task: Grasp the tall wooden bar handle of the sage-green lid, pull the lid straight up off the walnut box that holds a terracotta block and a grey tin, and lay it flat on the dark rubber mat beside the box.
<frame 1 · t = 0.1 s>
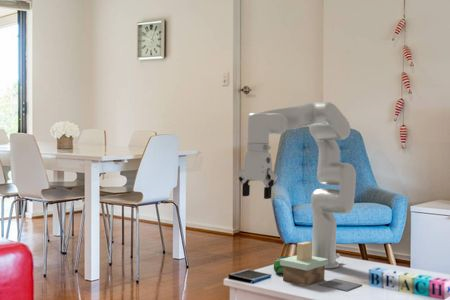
hand: (256, 197, 200), 31 cm above the table, fingers open, 9 cm apart
mat: (340, 285, 204), on the table
lid: (304, 261, 210), point 7 cm above the table, touching box
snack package: (284, 272, 223), on the table
box: (303, 280, 210), on the table
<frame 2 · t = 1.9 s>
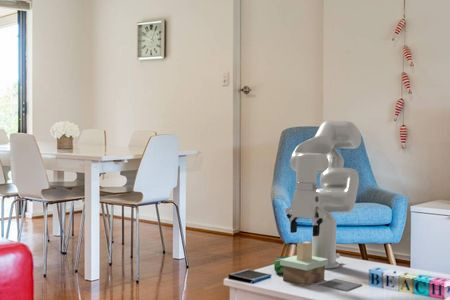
hand: (304, 234, 209), 17 cm above the table, fingers open, 9 cm apart
nothing on the table moved.
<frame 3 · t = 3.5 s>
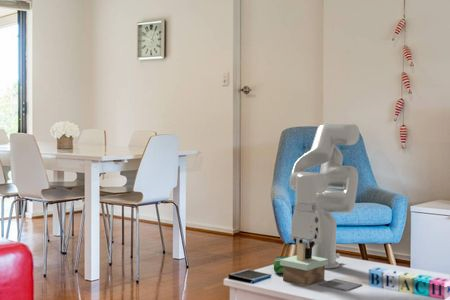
hand: (304, 257, 210), 8 cm above the table, fingers closed on lid, 2 cm apart
lid: (304, 261, 210), point 7 cm above the table, touching box, gripper
everything else where it was.
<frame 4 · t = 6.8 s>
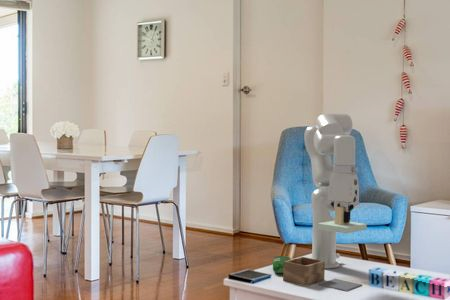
hand: (342, 221, 203), 23 cm above the table, fingers closed on lid, 2 cm apart
lid: (342, 225, 203), point 21 cm above the table, touching gripper
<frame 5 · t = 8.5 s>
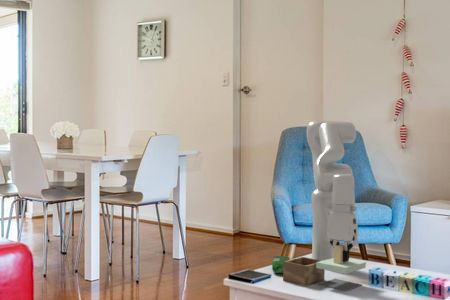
hand: (341, 260, 204), 9 cm above the table, fingers closed on lid, 2 cm apart
lid: (341, 264, 203), point 8 cm above the table, touching gripper
when the fingers open (4 cm above the table, at t = 10.1 s): lid stays where it is, resting on mat.
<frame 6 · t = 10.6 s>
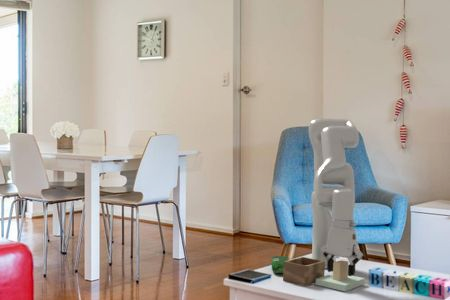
hand: (340, 273, 204), 4 cm above the table, fingers open, 7 cm apart
lid: (340, 280, 204), point 2 cm above the table, touching mat
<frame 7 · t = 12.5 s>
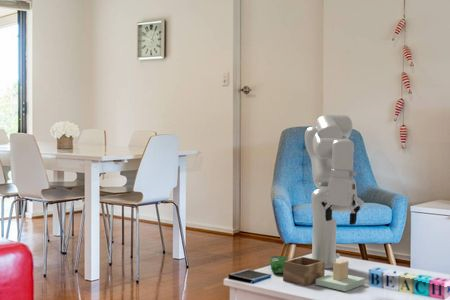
hand: (340, 222, 204), 22 cm above the table, fingers open, 9 cm apart
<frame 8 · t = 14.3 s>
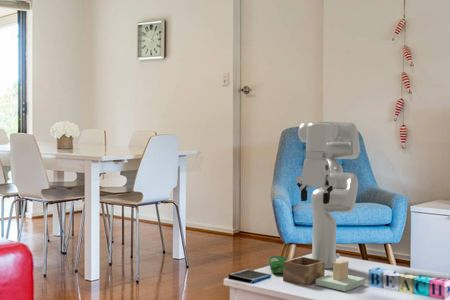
hand: (314, 202, 213), 28 cm above the table, fingers open, 9 cm apart
at the end: lid inside the target area on the mat (0.1 cm from its centre), point 1.6 cm above the mat's base; lid tilted 0°; the gripper is holding nothing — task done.
